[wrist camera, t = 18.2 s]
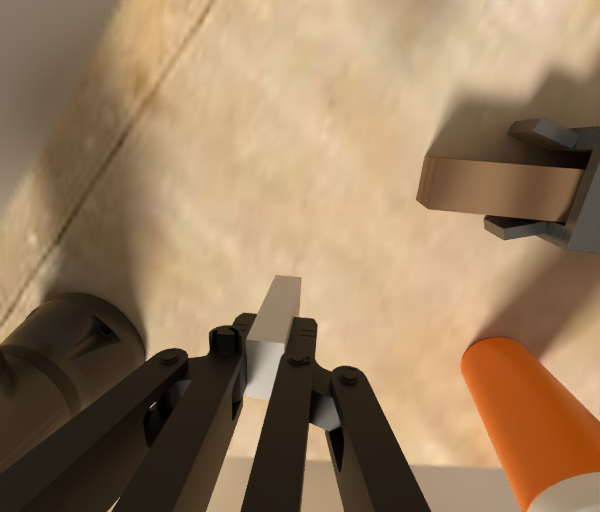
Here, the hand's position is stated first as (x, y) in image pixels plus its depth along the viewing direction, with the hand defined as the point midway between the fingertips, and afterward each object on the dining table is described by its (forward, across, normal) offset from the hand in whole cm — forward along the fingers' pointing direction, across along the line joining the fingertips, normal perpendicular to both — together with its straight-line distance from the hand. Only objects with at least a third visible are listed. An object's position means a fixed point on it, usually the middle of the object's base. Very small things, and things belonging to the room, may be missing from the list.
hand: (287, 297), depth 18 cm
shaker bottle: (+15, +21, -13) cm, 29 cm away
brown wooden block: (+15, +17, +6) cm, 24 cm away
